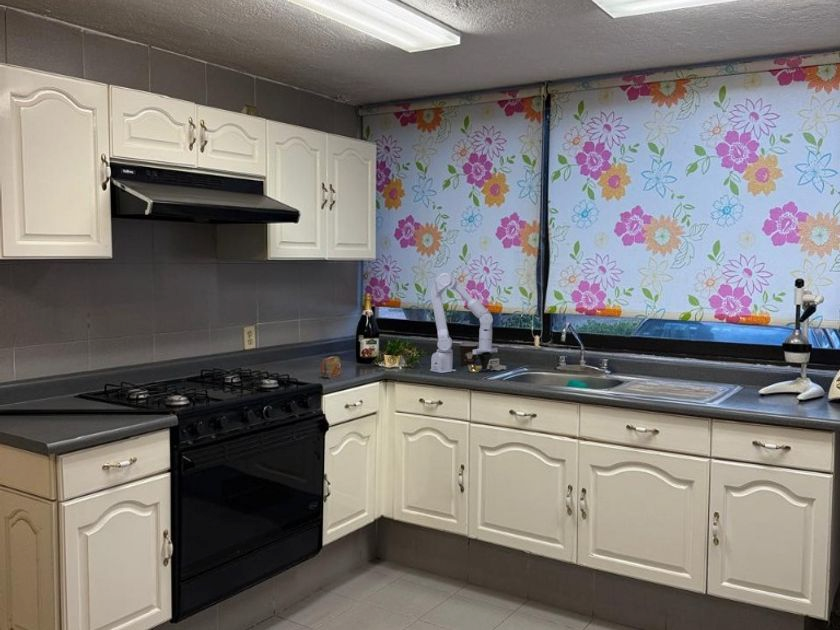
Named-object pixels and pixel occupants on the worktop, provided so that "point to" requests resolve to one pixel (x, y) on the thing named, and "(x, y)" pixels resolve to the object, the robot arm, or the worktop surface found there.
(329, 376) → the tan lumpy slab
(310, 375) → the worktop surface
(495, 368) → the stand
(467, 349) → the coffee mug
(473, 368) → the cam
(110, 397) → the worktop surface
